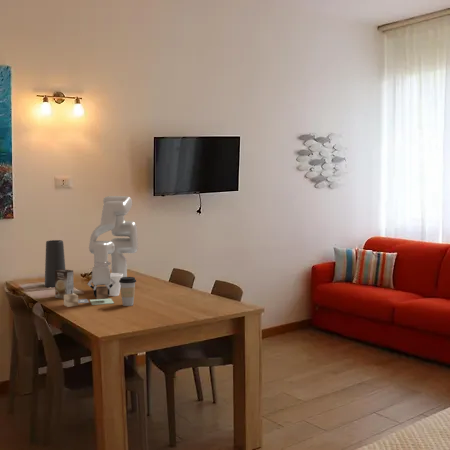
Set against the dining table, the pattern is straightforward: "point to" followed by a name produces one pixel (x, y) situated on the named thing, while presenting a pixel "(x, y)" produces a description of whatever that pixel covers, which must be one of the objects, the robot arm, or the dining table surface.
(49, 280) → the vase
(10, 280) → the dining table surface
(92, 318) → the dining table surface
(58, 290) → the coffee box
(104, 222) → the robot arm
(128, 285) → the coffee cup
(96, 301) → the mat
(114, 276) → the cup
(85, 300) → the tile
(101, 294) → the walnut block
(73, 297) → the maple block
